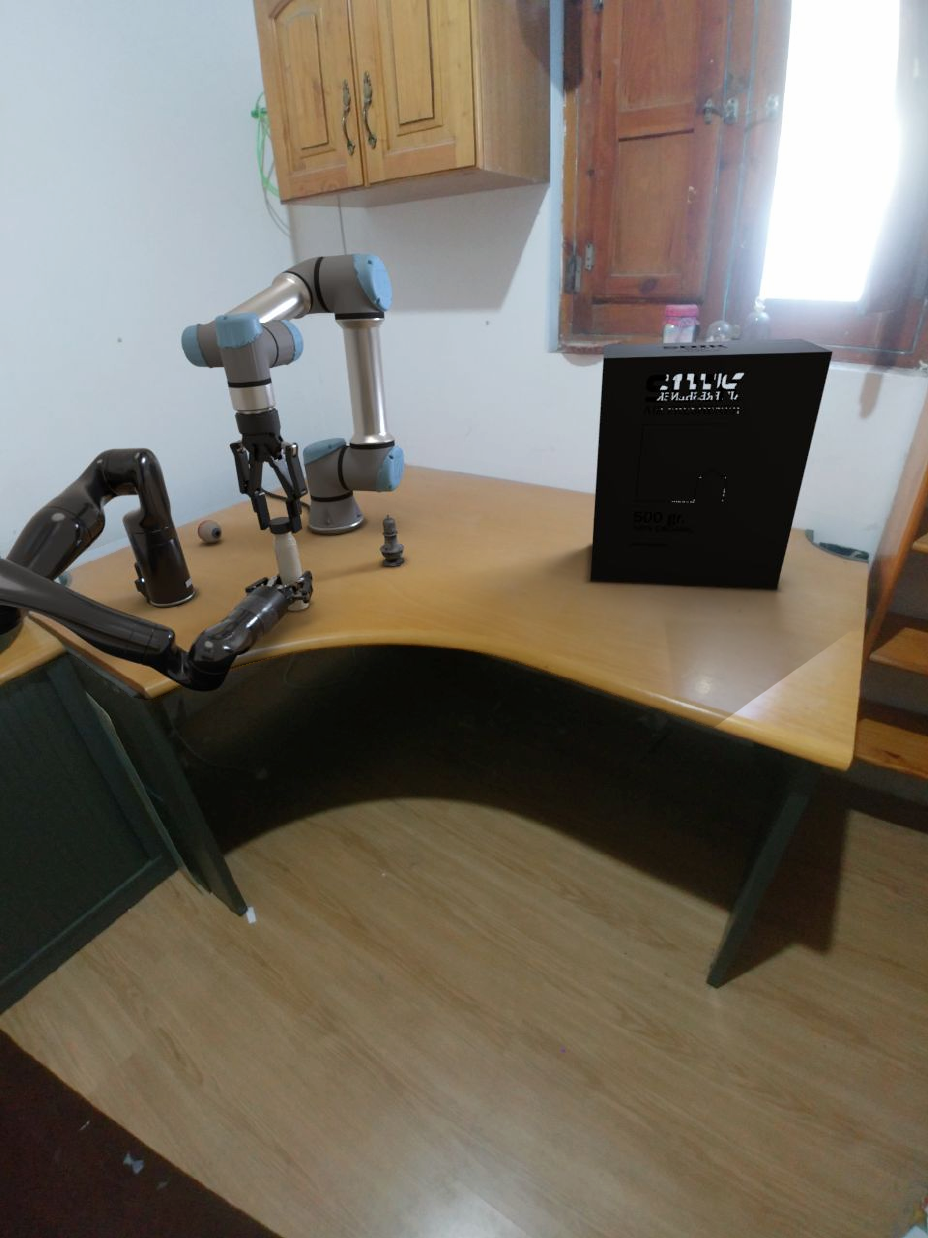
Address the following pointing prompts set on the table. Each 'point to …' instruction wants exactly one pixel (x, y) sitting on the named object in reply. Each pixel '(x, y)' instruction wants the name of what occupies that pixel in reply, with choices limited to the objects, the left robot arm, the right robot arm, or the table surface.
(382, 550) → the grey tall tiered piece
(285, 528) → the cap
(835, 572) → the table surface
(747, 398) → the cardboard box
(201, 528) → the eyeball
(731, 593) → the table surface
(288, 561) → the bottle
